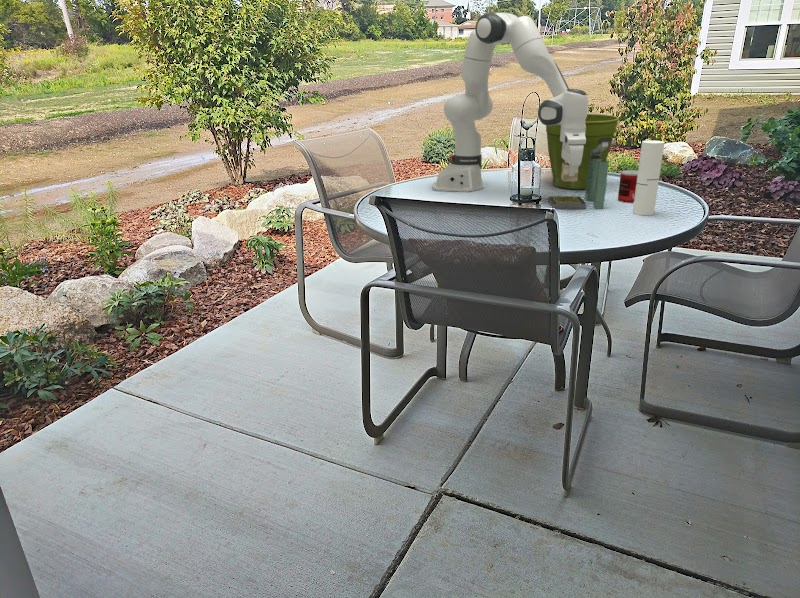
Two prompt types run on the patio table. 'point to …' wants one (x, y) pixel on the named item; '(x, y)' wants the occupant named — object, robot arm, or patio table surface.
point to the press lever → (600, 147)
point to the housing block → (566, 170)
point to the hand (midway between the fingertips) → (569, 174)
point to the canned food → (627, 185)
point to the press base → (587, 188)
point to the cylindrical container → (648, 177)
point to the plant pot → (595, 130)
